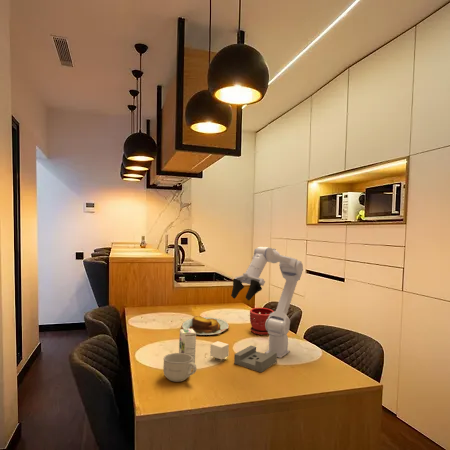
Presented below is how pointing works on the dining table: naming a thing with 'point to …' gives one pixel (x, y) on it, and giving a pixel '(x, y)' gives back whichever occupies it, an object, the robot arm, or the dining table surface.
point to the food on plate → (205, 325)
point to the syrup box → (187, 342)
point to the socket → (255, 359)
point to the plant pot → (259, 320)
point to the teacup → (178, 366)
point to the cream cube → (219, 350)
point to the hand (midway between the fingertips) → (239, 298)
